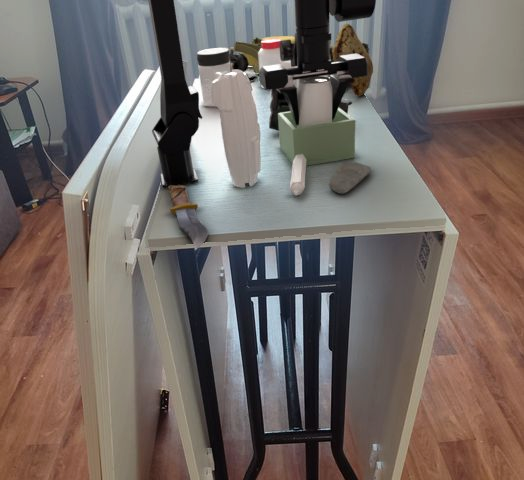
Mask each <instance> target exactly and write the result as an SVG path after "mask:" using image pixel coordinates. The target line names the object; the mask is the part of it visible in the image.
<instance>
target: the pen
mask: <svg viewBox="0 0 524 480" xmlns="http://www.w3.org/2000/svg"><path fill="white" fill-rule="evenodd" d="M248 78H249V80H250V82H253V81H254V80H257V79H258V78H259V75H252V76H248Z"/></svg>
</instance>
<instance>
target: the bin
mask: <svg viewBox="0 0 524 480" xmlns="http://www.w3.org/2000/svg"><path fill="white" fill-rule="evenodd" d="M278 123H279V131H278V136H279V137H278V139H279V149H280V150H281V152H282V153H283V154H284V156H285V157H286V158H287V159H288V161H289V163H291V164H292V166H293V160H294V158H295V156H296V155H299V154H303V155H304V157H305V158H306V167H307V166H313V165H314V166H315V165H320V164H326V163H331V162H338V161H343V160H349V159H354V158H355V157H356V156H355V155H356V153H355V152H356V148H355V147H356V119H355V118H353V117H352V116H351V115H349V113H348V114H347V113H345V112H344V111H343V110H342V109H340V108H339V107H338V110H337V112H336V115H335V118H334V120H332V122H331V123H325V124H318V125H312V126H306V127H300V128H298V126H297V125H296V124H295V121H294V119H293V116H292V113H291V111H289V112H282V113H278Z"/></svg>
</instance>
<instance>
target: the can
mask: <svg viewBox="0 0 524 480" xmlns="http://www.w3.org/2000/svg"><path fill="white" fill-rule="evenodd" d="M297 99H298V111H299V125H297V126H298V128H300V127H306V126H312V125H318V124H325V123H331V122H332V86H331V82H330V78H329V77H326V76H317V77H310V78H303V79H299V85H298V88H297Z"/></svg>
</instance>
